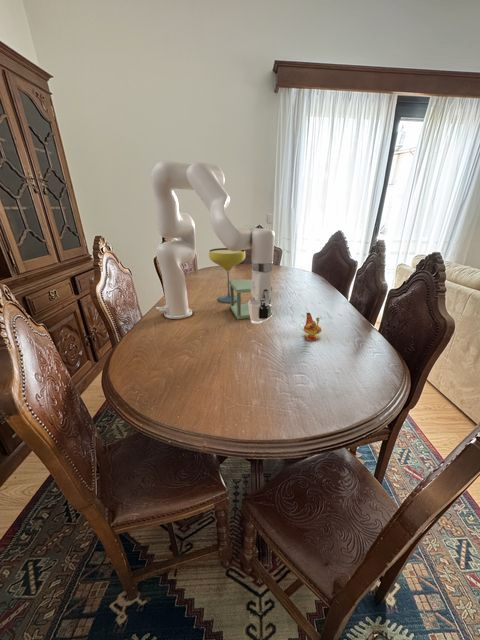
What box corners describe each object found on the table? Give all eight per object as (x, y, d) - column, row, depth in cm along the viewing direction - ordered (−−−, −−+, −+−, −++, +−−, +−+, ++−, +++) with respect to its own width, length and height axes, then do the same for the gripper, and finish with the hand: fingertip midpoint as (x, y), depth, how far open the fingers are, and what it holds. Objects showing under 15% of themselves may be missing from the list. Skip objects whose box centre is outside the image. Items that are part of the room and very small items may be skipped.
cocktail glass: (252, 298, 156) (252, 250, 144) (232, 307, 142) (230, 255, 130) (226, 292, 164) (224, 246, 152) (204, 300, 150) (200, 251, 139)
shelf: (237, 319, 128) (236, 289, 122) (230, 307, 142) (229, 280, 135) (271, 316, 132) (272, 287, 126) (261, 305, 146) (261, 278, 140)
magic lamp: (314, 327, 122) (317, 302, 117) (324, 346, 106) (328, 318, 101) (298, 327, 121) (300, 302, 116) (306, 346, 105) (309, 318, 100)
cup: (246, 318, 112) (246, 298, 108) (271, 317, 114) (272, 298, 110) (248, 326, 106) (249, 305, 102) (274, 325, 108) (276, 305, 104)
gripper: (245, 262, 106) (245, 307, 115) (259, 273, 92) (257, 324, 100) (264, 261, 108) (263, 306, 117) (280, 272, 94) (277, 322, 102)
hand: (260, 314), depth 109 cm, fingers closed on cup, 6 cm apart
